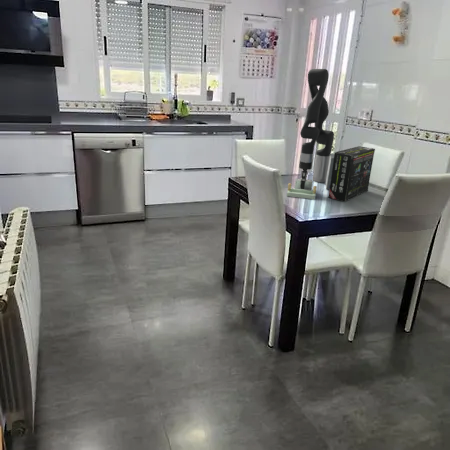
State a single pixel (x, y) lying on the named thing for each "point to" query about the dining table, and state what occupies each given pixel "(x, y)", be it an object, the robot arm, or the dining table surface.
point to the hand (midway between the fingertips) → (302, 187)
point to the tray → (301, 192)
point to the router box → (351, 173)
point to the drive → (307, 184)
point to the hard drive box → (329, 171)
